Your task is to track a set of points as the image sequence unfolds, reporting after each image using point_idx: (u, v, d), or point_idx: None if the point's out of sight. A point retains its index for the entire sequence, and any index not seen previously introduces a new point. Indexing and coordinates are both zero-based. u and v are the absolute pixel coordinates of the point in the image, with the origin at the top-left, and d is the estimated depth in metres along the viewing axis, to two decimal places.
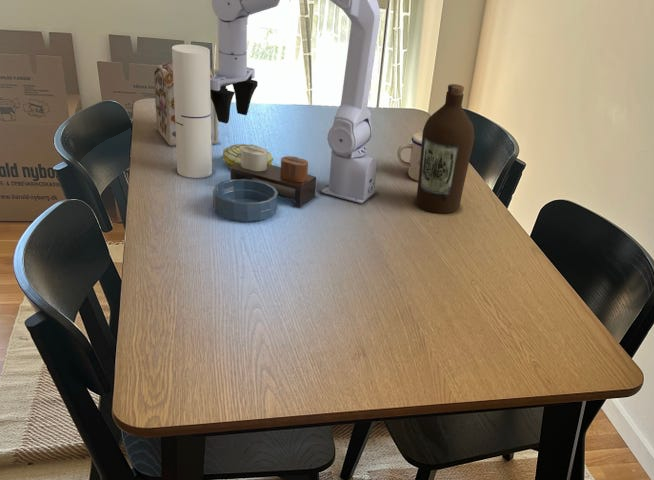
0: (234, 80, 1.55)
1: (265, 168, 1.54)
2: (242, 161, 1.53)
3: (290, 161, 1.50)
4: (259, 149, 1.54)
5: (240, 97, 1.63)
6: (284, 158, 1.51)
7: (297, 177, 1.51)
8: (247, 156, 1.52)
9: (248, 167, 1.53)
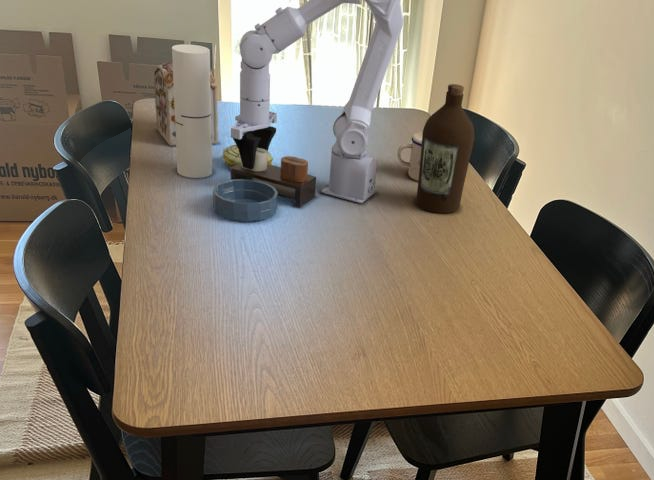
0: (256, 127, 1.47)
1: (265, 168, 1.54)
2: None
3: (290, 161, 1.50)
4: (259, 149, 1.54)
5: (257, 144, 1.55)
6: (284, 158, 1.51)
7: (297, 177, 1.51)
8: None
9: None
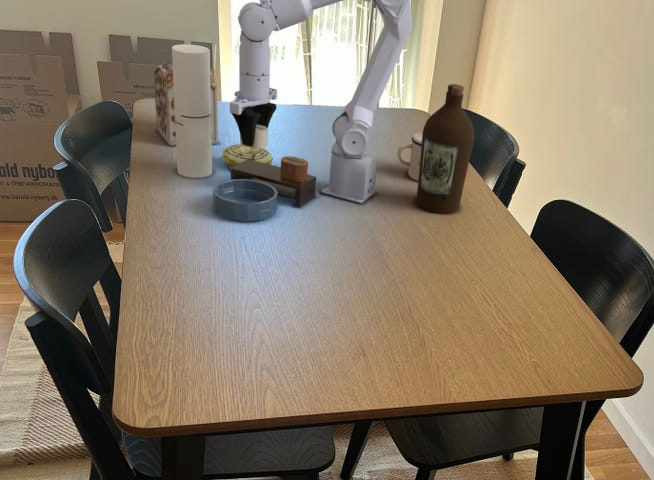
0: (256, 103, 1.44)
1: (265, 145, 1.51)
2: None
3: (290, 161, 1.50)
4: (259, 126, 1.50)
5: (257, 121, 1.51)
6: (284, 158, 1.51)
7: (297, 177, 1.51)
8: None
9: None
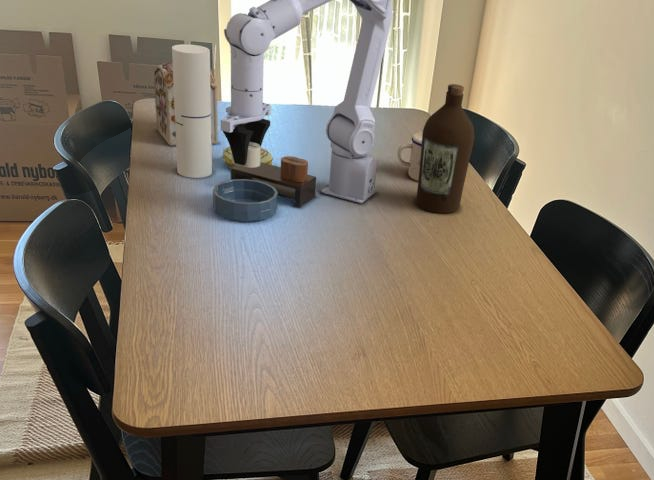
0: (249, 120, 1.35)
1: (258, 164, 1.42)
2: None
3: (290, 161, 1.50)
4: (252, 143, 1.42)
5: (250, 138, 1.43)
6: (284, 158, 1.51)
7: (297, 177, 1.51)
8: None
9: None
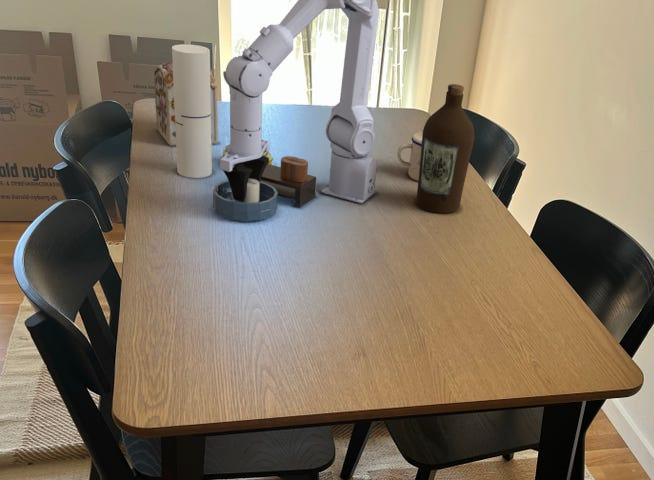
0: (248, 158, 1.38)
1: (257, 200, 1.45)
2: None
3: (290, 161, 1.50)
4: (250, 180, 1.45)
5: (249, 175, 1.46)
6: (284, 158, 1.51)
7: (297, 177, 1.51)
8: None
9: None
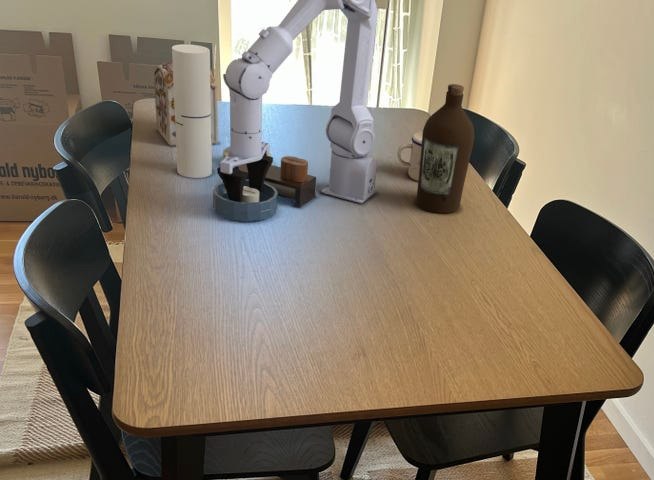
0: (248, 161, 1.39)
1: None
2: None
3: (290, 161, 1.50)
4: (250, 189, 1.46)
5: (254, 175, 1.47)
6: (284, 158, 1.51)
7: (297, 177, 1.51)
8: None
9: None
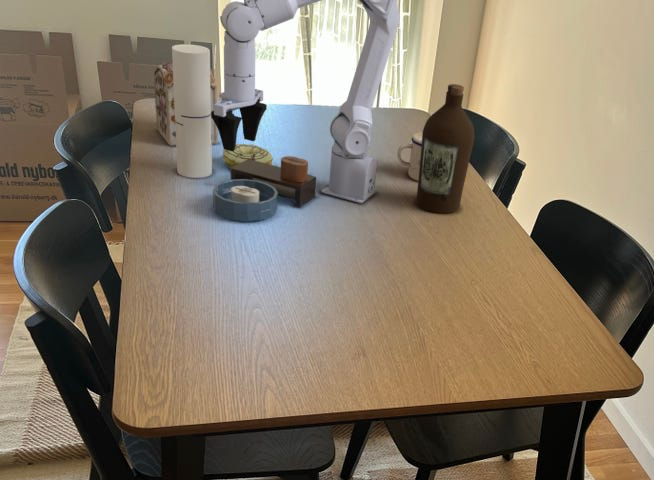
0: (241, 104, 1.40)
1: None
2: None
3: (290, 161, 1.50)
4: (250, 189, 1.46)
5: (247, 122, 1.49)
6: (284, 158, 1.51)
7: (297, 177, 1.51)
8: (238, 197, 1.44)
9: None
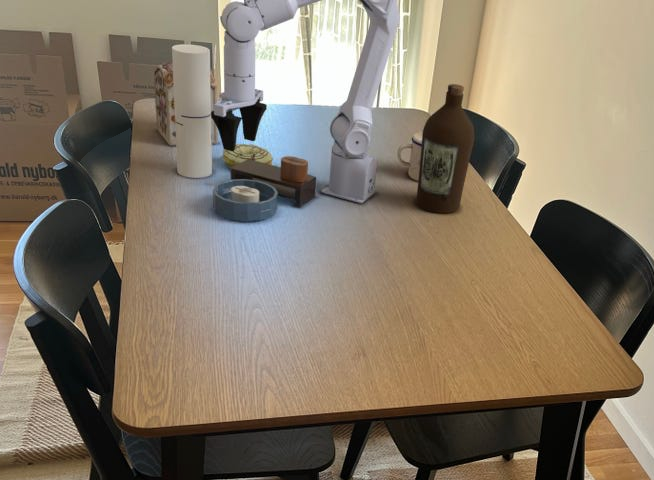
0: (241, 104, 1.40)
1: None
2: None
3: (290, 161, 1.50)
4: (250, 189, 1.46)
5: (247, 122, 1.49)
6: (284, 158, 1.51)
7: (297, 177, 1.51)
8: (238, 197, 1.44)
9: None
